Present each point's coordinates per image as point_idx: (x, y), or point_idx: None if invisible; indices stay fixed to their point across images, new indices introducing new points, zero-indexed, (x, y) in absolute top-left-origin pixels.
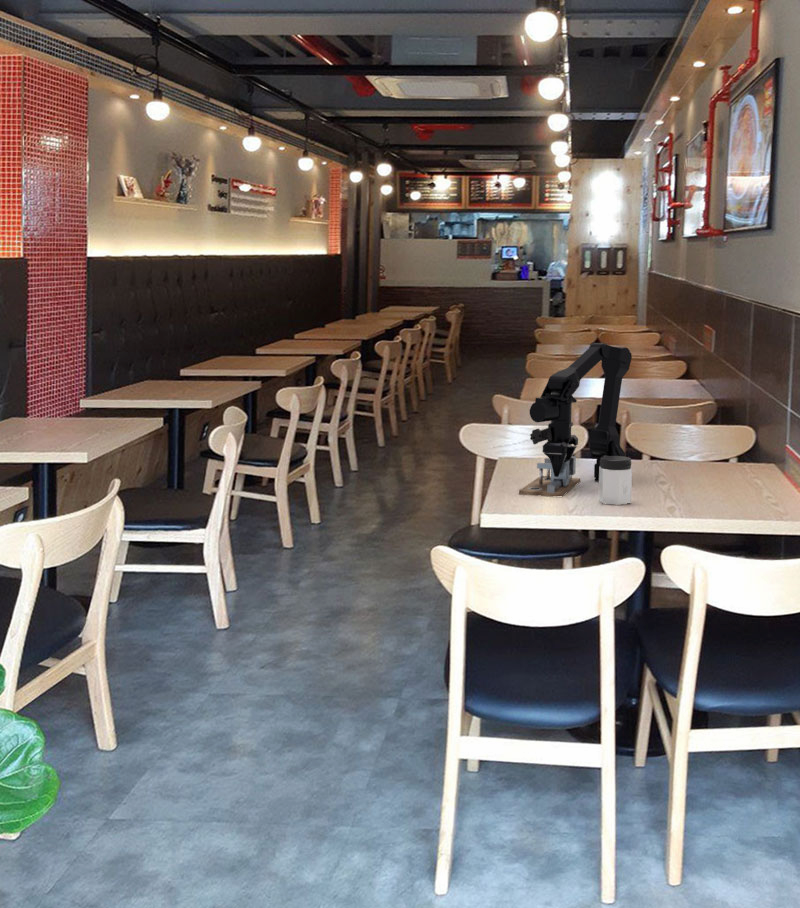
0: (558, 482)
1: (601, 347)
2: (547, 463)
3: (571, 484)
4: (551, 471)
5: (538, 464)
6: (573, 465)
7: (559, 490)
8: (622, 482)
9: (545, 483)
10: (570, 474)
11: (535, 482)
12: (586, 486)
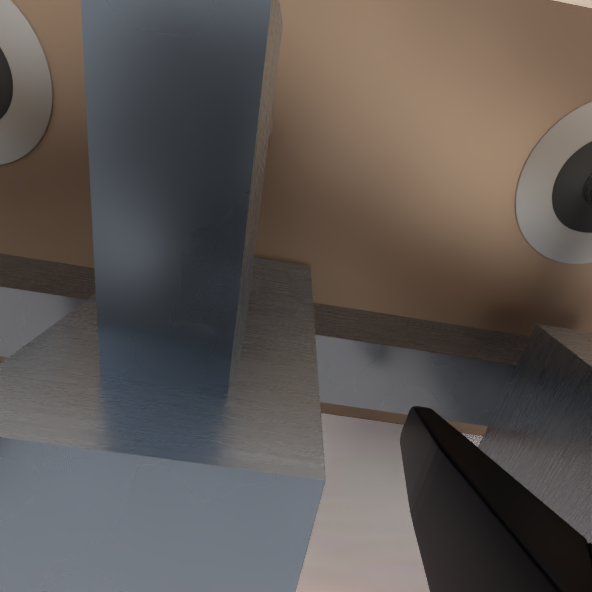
0: (1, 351)
1: None
2: (190, 275)
3: (320, 404)
4: (83, 312)
5: (96, 4)
6: None
7: None
8: None
9: (338, 173)
10: (486, 440)
11: (391, 36)
12: (398, 470)
